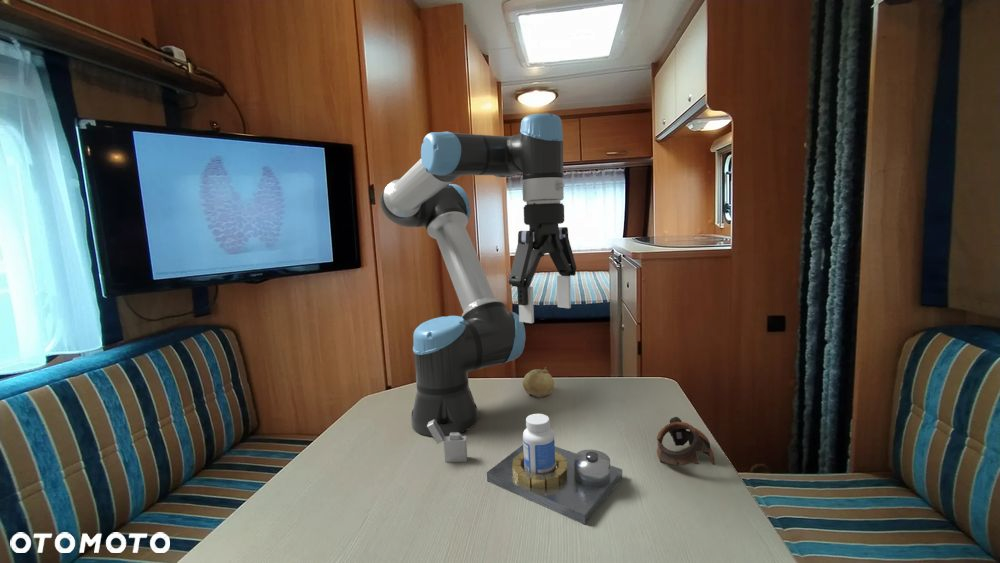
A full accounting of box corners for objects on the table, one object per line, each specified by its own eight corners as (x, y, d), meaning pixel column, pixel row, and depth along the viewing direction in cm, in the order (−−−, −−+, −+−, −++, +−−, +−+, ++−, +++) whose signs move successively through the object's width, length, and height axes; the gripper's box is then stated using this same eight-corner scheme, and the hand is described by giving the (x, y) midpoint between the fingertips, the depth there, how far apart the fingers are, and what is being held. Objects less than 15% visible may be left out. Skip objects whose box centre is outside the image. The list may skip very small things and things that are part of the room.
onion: (532, 403, 106) (531, 375, 105) (517, 391, 114) (516, 366, 112) (560, 396, 110) (559, 369, 109) (544, 385, 117) (543, 360, 116)
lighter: (467, 456, 84) (465, 417, 83) (466, 461, 82) (464, 422, 81) (431, 457, 84) (428, 418, 83) (429, 462, 82) (426, 423, 81)
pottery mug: (728, 477, 75) (713, 445, 72) (677, 496, 77) (660, 466, 74) (699, 427, 86) (685, 398, 83) (654, 445, 88) (639, 417, 85)
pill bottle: (559, 466, 77) (558, 414, 75) (549, 483, 72) (547, 429, 70) (531, 459, 79) (529, 409, 78) (519, 475, 74) (517, 422, 73)
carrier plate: (487, 480, 76) (485, 452, 75) (531, 445, 87) (530, 420, 86) (585, 524, 64) (584, 491, 64) (622, 477, 75) (622, 449, 74)
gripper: (521, 202, 68) (525, 332, 72) (592, 201, 88) (593, 303, 91) (485, 204, 73) (490, 326, 76) (560, 203, 92) (562, 300, 95)
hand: (546, 314), depth 83 cm, fingers open, 13 cm apart
